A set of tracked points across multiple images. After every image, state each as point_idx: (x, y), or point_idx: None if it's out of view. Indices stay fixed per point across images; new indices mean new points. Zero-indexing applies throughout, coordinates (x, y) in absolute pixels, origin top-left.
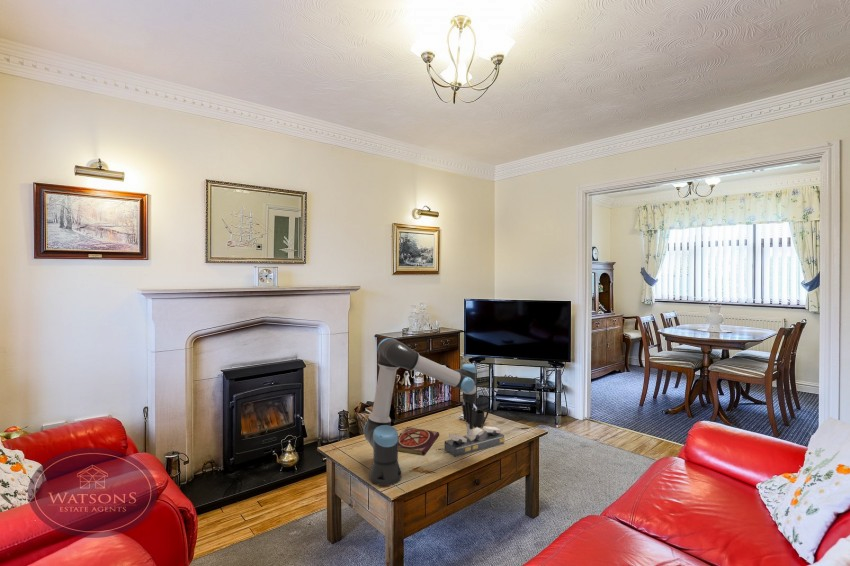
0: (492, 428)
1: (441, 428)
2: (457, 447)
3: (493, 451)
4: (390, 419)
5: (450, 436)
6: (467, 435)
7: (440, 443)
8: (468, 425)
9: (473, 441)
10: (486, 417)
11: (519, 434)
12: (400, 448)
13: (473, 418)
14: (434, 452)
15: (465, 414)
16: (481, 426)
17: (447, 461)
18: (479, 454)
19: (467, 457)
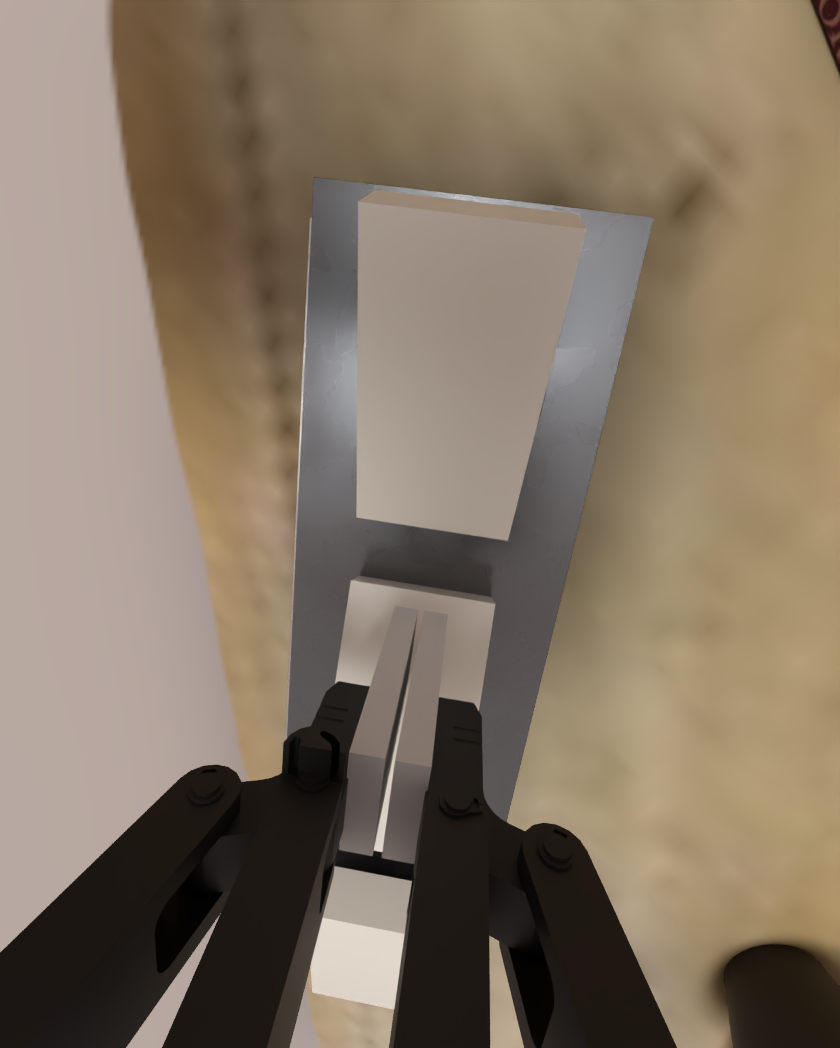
0: (349, 962)
1: None
2: (313, 244)
3: (229, 674)
4: None
5: (504, 211)
6: (453, 616)
7: (814, 351)
8: (364, 717)
9: (334, 590)
10: None
11: (370, 1035)
12: None
13: (42, 943)
14: (665, 35)
15: (563, 1044)
16: (725, 987)
17: (304, 11)
18: (247, 521)
19: (257, 354)
